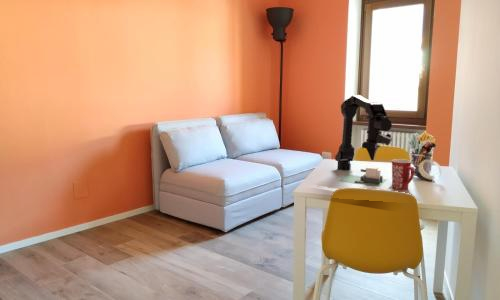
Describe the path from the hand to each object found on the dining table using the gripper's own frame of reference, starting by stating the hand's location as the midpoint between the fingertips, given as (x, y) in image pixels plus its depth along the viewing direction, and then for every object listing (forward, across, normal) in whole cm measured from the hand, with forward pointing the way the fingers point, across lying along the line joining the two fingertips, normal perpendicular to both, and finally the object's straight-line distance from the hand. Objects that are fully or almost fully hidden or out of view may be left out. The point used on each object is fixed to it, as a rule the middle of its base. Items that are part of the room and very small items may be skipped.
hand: (372, 160), depth 202 cm
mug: (+13, -1, -15) cm, 20 cm away
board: (+12, 0, +4) cm, 13 cm away
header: (+11, 0, 0) cm, 11 cm away
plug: (+11, 0, 0) cm, 11 cm away
